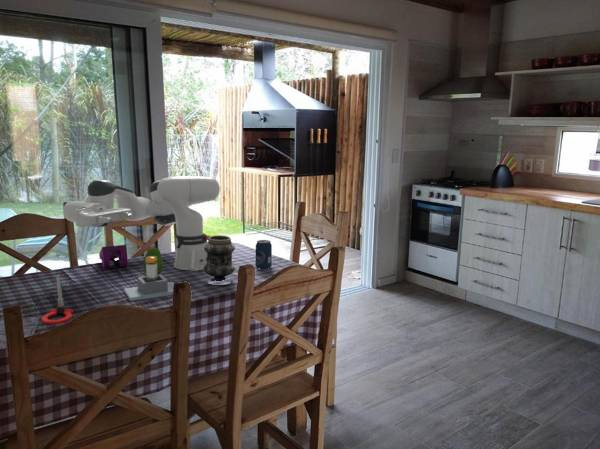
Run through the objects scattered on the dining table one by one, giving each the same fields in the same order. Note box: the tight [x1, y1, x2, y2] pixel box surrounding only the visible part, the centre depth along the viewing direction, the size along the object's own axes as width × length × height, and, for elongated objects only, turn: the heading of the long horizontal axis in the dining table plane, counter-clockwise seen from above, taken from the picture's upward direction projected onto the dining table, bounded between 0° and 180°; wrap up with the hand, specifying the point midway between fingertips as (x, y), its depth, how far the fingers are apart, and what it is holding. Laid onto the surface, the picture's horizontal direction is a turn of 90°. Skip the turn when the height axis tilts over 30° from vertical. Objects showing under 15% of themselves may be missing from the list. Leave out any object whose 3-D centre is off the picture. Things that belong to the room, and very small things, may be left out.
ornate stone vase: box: [203, 234, 236, 281], centre depth 189 cm, size 12×12×18 cm
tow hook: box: [41, 274, 74, 325], centre depth 150 cm, size 8×13×9 cm
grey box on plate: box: [123, 273, 175, 302], centre depth 176 cm, size 18×11×5 cm, turn 120°
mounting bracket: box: [98, 244, 129, 269], centre depth 212 cm, size 9×8×18 cm
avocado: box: [142, 246, 164, 275], centre depth 195 cm, size 8×8×12 cm
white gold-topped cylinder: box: [145, 256, 158, 282], centre depth 175 cm, size 4×4×12 cm
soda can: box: [254, 239, 273, 269], centre depth 210 cm, size 7×7×12 cm
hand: (120, 218), depth 179 cm, fingers open, 8 cm apart
